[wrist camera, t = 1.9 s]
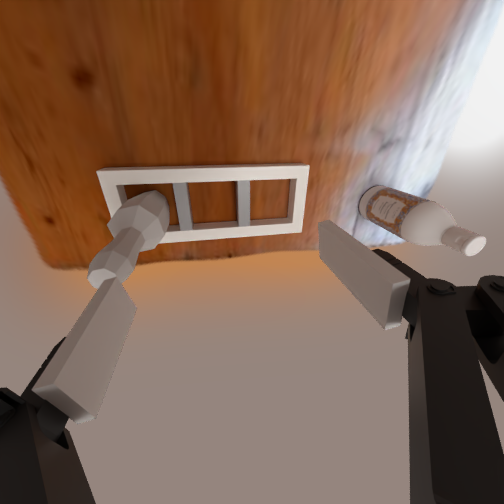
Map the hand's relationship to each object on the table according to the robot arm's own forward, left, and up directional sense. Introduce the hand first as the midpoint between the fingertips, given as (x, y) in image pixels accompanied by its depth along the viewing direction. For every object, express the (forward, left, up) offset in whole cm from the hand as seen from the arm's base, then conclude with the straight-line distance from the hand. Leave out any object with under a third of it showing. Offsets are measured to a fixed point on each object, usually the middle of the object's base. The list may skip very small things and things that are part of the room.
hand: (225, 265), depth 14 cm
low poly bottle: (-6, -9, -27) cm, 29 cm away
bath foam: (+29, +15, -27) cm, 43 cm away
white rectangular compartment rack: (+2, -3, -27) cm, 27 cm away
